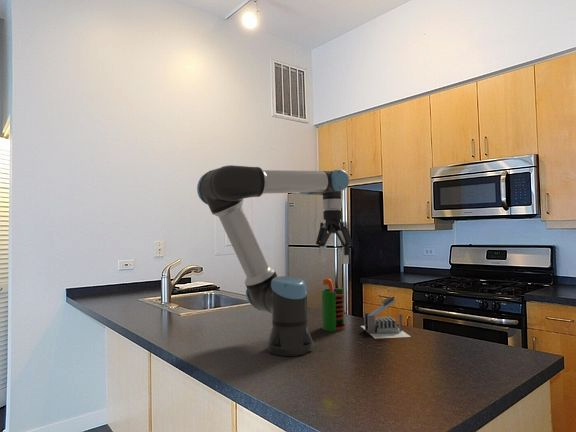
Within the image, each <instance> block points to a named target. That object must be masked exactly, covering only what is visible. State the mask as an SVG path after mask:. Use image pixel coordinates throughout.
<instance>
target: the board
mask: <svg viewBox="0 0 576 432" xmlns="http://www.w3.org/2000/svg"><path fill="white" fill-rule="evenodd" d="M360 327H361V328H362V329H363V330H364V331H365V325H360ZM366 333H368V331H366ZM369 335H370V336H371V337H372V338H374V339H392V338H393V339H394V338H395V339H396V338H412V337H411V335H409V334H408V333H406V332H405V331H404V330H402V331H400V330H399V333H392V334H376V333H371V334H369Z"/></svg>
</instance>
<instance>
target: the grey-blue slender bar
mask: <svg viewBox="0 0 576 432" xmlns="http://www.w3.org/2000/svg"><path fill="white" fill-rule="evenodd" d="M395 302H396V301H395V299H394V297H392V296H389V297H387V298H386V299H384V300H383V301H381V304H382V305H380V306H379V307H377V308H376V309H375V310H373V311H372V312H369V313H370V314H367V315H366V316H367V318H368V315H375V317H377V315H378V314H380V313H381V312H383V311H384V310H386V309H387V308H389V307H390V306H391V305H393V304H394V303H395Z"/></svg>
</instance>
